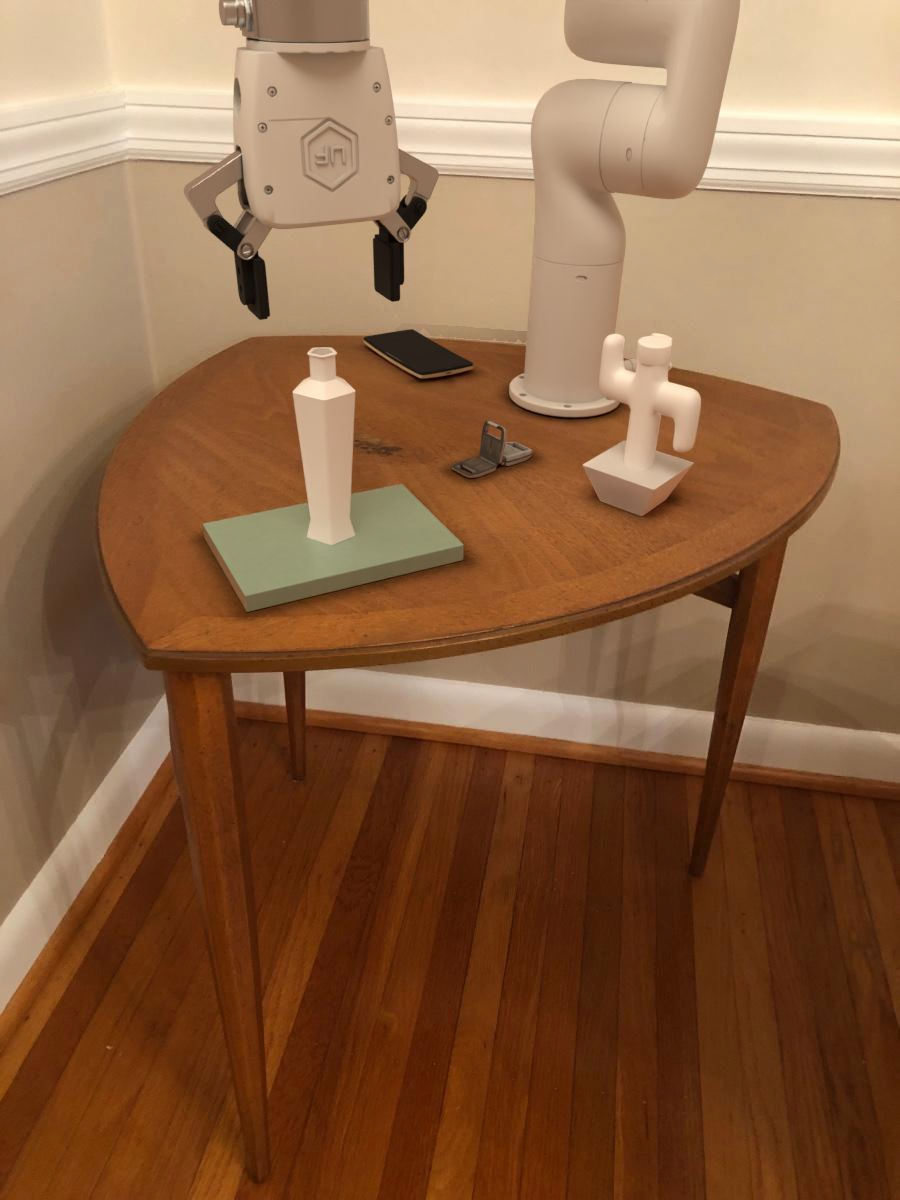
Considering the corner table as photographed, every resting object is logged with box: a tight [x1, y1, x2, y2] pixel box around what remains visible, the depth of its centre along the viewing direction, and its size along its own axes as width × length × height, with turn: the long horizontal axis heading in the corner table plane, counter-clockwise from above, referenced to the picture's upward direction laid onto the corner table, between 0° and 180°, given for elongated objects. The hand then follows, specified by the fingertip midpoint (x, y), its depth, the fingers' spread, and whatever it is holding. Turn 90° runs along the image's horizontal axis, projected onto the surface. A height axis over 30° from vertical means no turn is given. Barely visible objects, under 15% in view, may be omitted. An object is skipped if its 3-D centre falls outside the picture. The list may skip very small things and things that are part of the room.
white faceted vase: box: [291, 346, 356, 545], centre depth 72 cm, size 5×4×15 cm
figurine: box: [581, 332, 702, 517], centre depth 82 cm, size 7×9×15 cm
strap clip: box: [451, 419, 533, 479], centre depth 90 cm, size 8×3×4 cm, turn 130°
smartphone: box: [362, 328, 474, 379], centre depth 116 cm, size 7×1×15 cm
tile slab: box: [202, 483, 465, 613], centre depth 77 cm, size 18×12×2 cm, turn 117°
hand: (324, 304), depth 66 cm, fingers open, 9 cm apart
